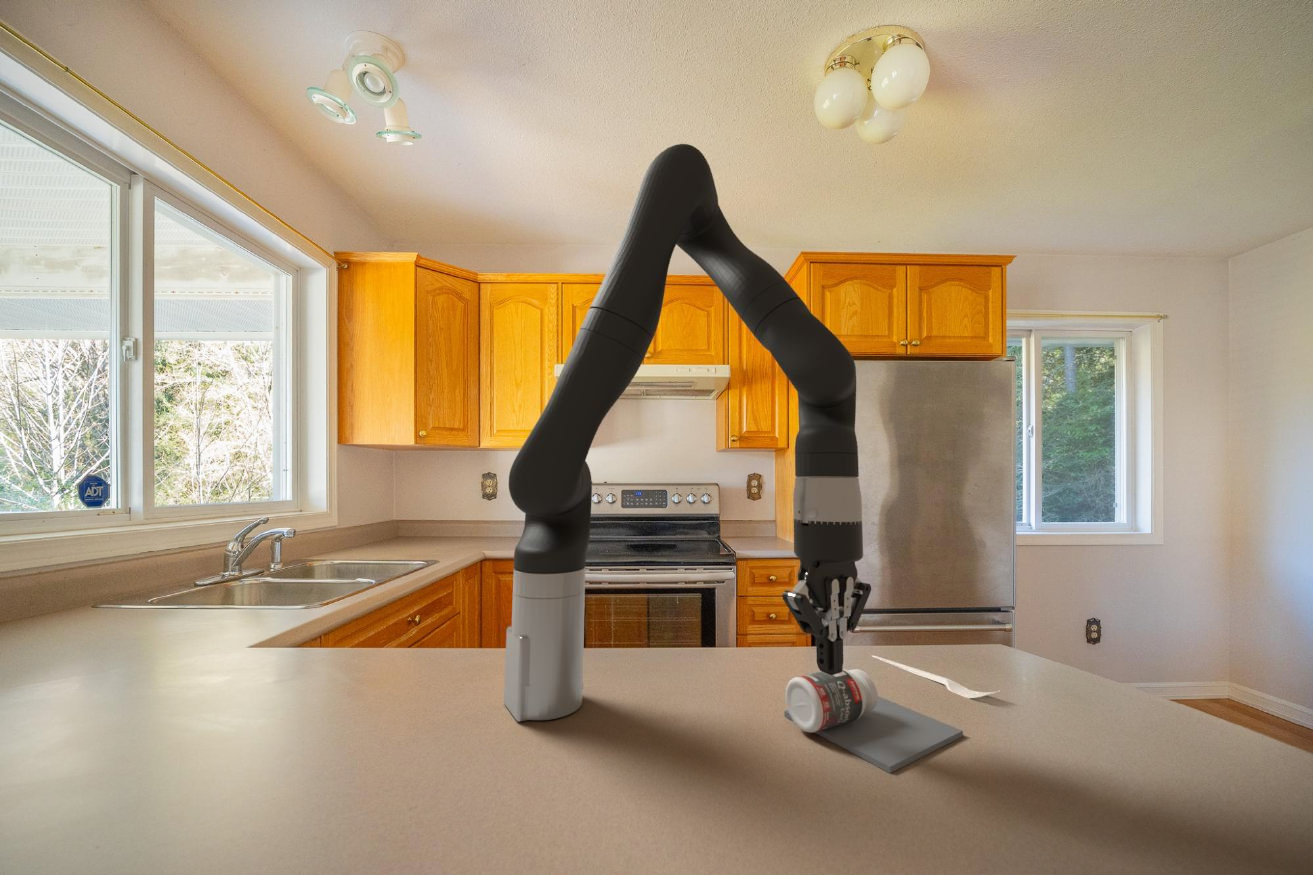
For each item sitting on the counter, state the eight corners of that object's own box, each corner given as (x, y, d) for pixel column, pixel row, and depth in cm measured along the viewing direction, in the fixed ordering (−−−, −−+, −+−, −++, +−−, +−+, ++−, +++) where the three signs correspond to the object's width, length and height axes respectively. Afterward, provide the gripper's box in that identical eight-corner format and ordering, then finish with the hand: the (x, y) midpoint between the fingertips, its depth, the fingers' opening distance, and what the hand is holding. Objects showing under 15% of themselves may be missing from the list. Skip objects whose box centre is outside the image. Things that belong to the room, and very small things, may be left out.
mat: (889, 773, 49) (889, 766, 49) (784, 716, 61) (784, 711, 61) (963, 736, 57) (962, 730, 57) (856, 691, 69) (856, 687, 69)
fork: (878, 659, 84) (878, 647, 84) (1004, 704, 66) (1002, 689, 66) (864, 661, 82) (864, 649, 83) (988, 708, 64) (987, 693, 65)
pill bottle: (817, 687, 54) (880, 671, 59) (782, 671, 59) (842, 657, 64) (819, 743, 54) (883, 723, 58) (784, 721, 59) (845, 704, 63)
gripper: (837, 513, 64) (840, 651, 63) (762, 516, 57) (763, 672, 56) (891, 517, 58) (896, 671, 56) (814, 520, 51) (817, 697, 49)
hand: (830, 671), depth 56 cm, fingers closed
